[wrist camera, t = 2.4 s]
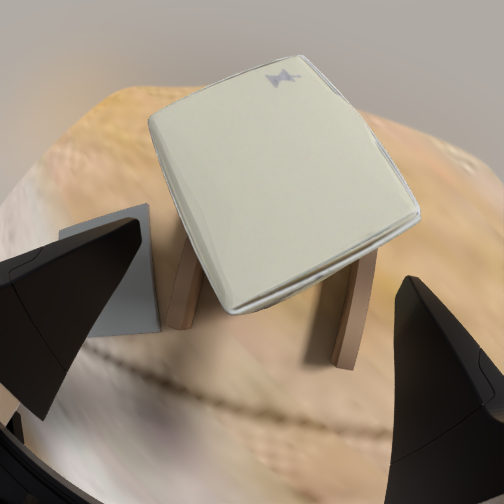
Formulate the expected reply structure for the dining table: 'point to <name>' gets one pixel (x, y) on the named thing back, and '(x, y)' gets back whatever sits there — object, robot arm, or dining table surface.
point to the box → (277, 182)
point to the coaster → (127, 282)
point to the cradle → (352, 312)
